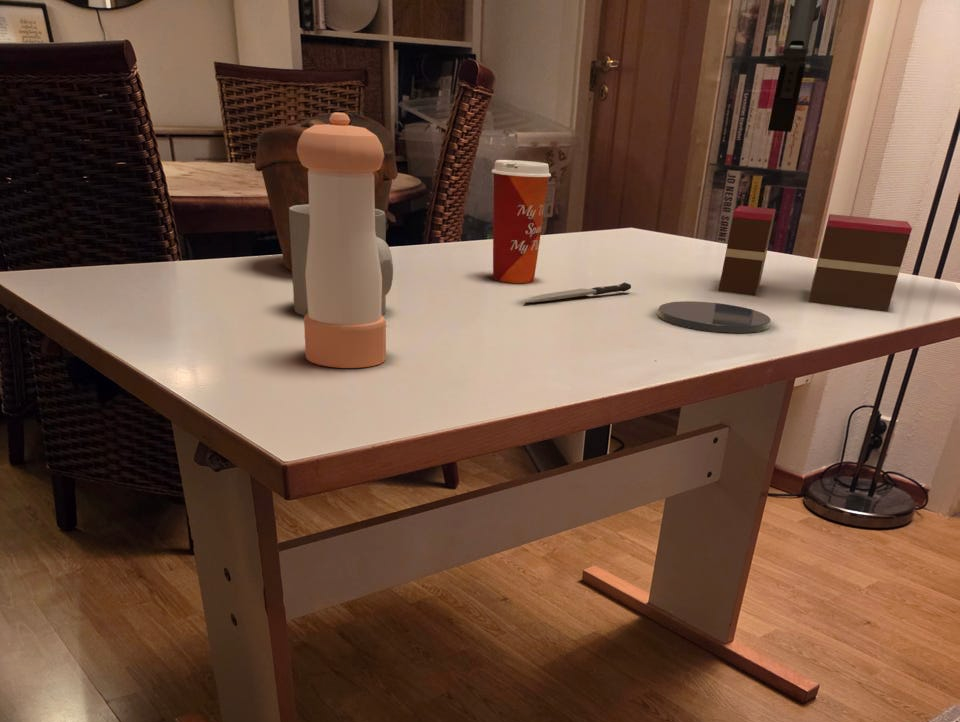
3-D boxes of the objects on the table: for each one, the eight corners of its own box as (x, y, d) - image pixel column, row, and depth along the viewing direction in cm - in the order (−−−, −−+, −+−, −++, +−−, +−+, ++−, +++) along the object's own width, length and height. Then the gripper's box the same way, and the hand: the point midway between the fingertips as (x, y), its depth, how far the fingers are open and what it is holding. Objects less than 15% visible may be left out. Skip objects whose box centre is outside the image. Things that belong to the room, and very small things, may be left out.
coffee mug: (280, 303, 96) (274, 204, 91) (362, 299, 101) (360, 203, 95) (329, 331, 87) (325, 222, 81) (416, 324, 91) (418, 220, 86)
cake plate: (772, 316, 106) (773, 309, 105) (765, 338, 95) (767, 331, 95) (666, 303, 109) (667, 296, 109) (649, 323, 98) (650, 316, 98)
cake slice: (759, 286, 124) (776, 208, 118) (755, 295, 117) (772, 214, 112) (724, 282, 125) (739, 205, 120) (718, 291, 119) (733, 210, 113)
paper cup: (525, 287, 113) (535, 165, 105) (475, 278, 116) (481, 160, 108) (551, 279, 119) (562, 163, 111) (502, 271, 122) (509, 158, 114)
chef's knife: (507, 301, 105) (523, 304, 103) (507, 291, 104) (523, 294, 102) (616, 289, 115) (632, 291, 113) (616, 279, 115) (633, 282, 113)
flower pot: (283, 285, 105) (272, 113, 95) (248, 257, 120) (236, 105, 110) (419, 282, 112) (422, 121, 102) (370, 255, 127) (369, 113, 117)
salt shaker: (291, 352, 79) (276, 108, 69) (359, 344, 83) (355, 111, 73) (330, 372, 74) (321, 113, 64) (401, 362, 78) (403, 117, 68)
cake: (884, 300, 119) (908, 221, 114) (887, 311, 113) (912, 227, 108) (809, 292, 122) (829, 214, 117) (808, 301, 116) (829, 219, 110)
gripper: (791, -68, 109) (753, 127, 120) (790, -110, 88) (745, 129, 100) (853, -67, 107) (809, 130, 118) (867, -110, 87) (812, 134, 98)
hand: (780, 130), depth 109 cm, fingers open, 13 cm apart
